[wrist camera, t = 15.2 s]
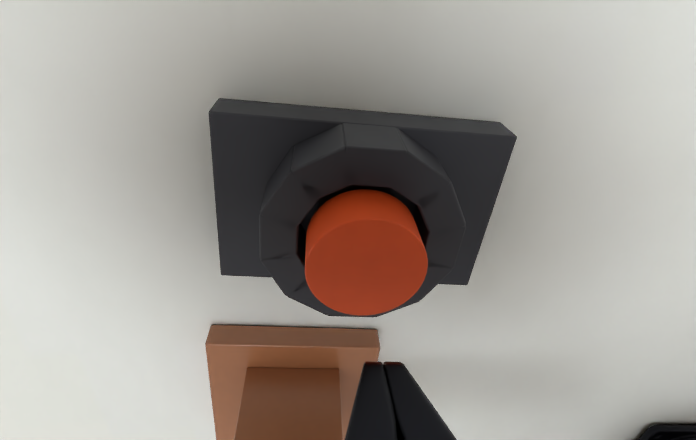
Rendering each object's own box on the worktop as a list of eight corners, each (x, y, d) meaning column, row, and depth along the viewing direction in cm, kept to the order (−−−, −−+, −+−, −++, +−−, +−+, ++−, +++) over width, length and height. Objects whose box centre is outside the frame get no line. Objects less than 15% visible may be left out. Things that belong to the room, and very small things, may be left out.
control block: (500, 121, 15) (546, 161, 12) (457, 263, 18) (484, 321, 15) (218, 97, 14) (190, 134, 11) (227, 252, 17) (208, 312, 14)
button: (426, 192, 13) (440, 222, 11) (405, 281, 14) (415, 317, 13) (309, 184, 12) (307, 215, 11) (303, 277, 14) (302, 314, 13)
